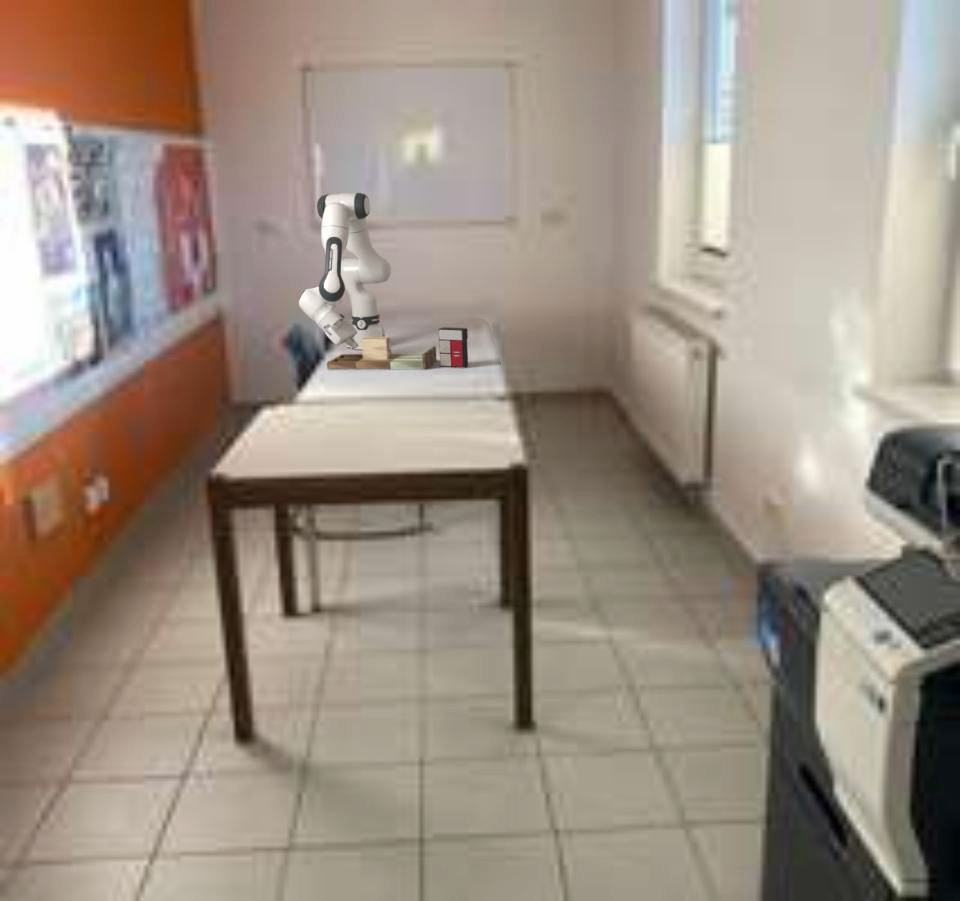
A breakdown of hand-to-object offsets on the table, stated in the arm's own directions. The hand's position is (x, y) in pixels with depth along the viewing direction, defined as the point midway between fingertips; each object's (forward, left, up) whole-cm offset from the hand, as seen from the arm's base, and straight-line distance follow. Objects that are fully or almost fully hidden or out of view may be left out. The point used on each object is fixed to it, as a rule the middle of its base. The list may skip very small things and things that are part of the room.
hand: (356, 347), depth 396 cm
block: (0, +8, -4) cm, 9 cm away
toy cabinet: (+3, +40, -8) cm, 41 cm away
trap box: (0, +10, -7) cm, 13 cm away
